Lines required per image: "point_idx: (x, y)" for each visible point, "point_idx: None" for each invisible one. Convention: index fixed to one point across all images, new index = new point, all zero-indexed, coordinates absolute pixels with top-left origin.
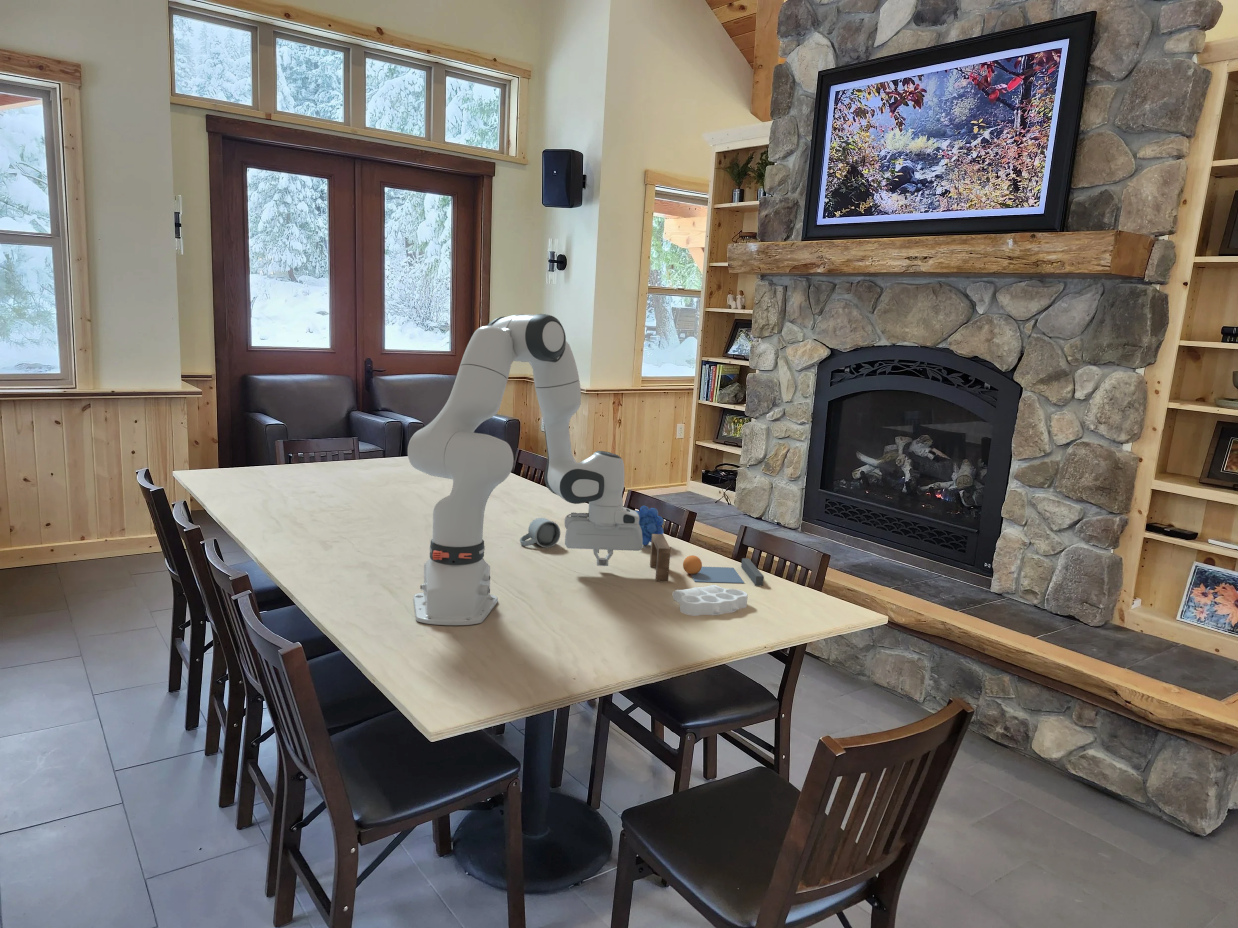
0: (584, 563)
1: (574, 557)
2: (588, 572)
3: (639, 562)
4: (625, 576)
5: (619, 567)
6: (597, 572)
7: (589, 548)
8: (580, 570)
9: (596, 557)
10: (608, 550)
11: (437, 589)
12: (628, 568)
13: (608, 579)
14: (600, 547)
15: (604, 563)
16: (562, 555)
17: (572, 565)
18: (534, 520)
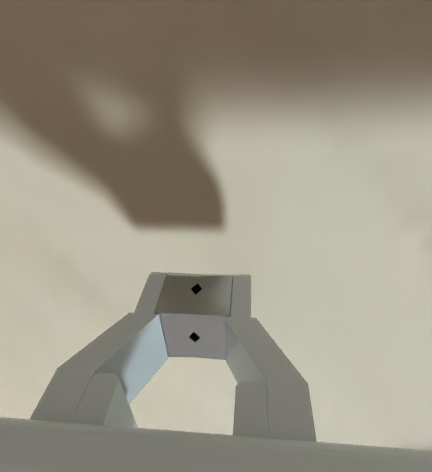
0: (312, 369)
1: (348, 429)
2: (321, 222)
3: (20, 381)
4: (7, 152)
5: (100, 322)
6: (245, 228)
7: (416, 457)
8: (377, 260)
9: (263, 333)
10: (98, 415)
11: None
12: (44, 310)
13: (139, 27)
14: (210, 470)
15: (180, 285)
16: (404, 447)
17: (404, 342)
18: None
